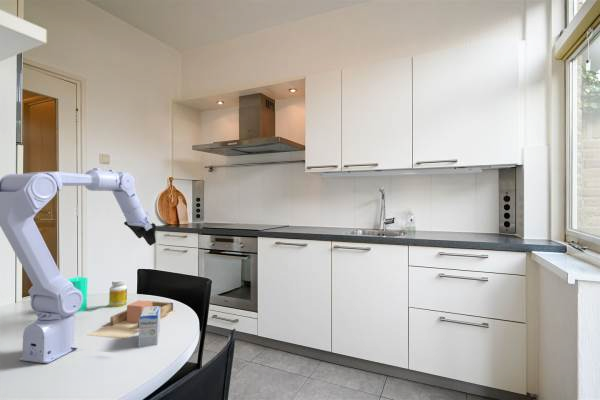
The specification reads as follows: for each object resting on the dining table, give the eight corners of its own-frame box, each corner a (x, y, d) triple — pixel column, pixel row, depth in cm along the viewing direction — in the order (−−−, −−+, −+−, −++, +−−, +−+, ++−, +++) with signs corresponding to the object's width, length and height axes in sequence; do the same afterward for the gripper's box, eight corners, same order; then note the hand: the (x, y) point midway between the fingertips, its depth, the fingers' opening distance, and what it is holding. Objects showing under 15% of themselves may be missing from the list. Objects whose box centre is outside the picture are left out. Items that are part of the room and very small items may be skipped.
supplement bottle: (107, 307, 110) (108, 279, 110) (124, 304, 113) (125, 277, 113) (110, 311, 105) (111, 282, 106) (127, 308, 109) (128, 280, 109)
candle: (67, 308, 108) (69, 273, 108) (88, 306, 110) (89, 272, 111) (63, 313, 102) (64, 277, 103) (84, 311, 105) (85, 275, 105)
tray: (125, 342, 82) (126, 329, 82) (86, 338, 84) (87, 325, 84) (175, 313, 104) (175, 303, 104) (143, 310, 106) (144, 300, 106)
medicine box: (141, 338, 84) (142, 306, 85) (159, 336, 86) (160, 305, 86) (137, 351, 77) (139, 316, 77) (157, 349, 79) (158, 314, 79)
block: (141, 323, 93) (141, 306, 93) (126, 321, 93) (127, 305, 94) (151, 317, 98) (152, 301, 98) (137, 316, 98) (138, 300, 98)
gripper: (154, 206, 97) (168, 240, 104) (132, 195, 105) (147, 227, 112) (132, 217, 92) (149, 252, 99) (112, 205, 101) (128, 238, 108)
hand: (147, 240), depth 105 cm, fingers open, 7 cm apart
